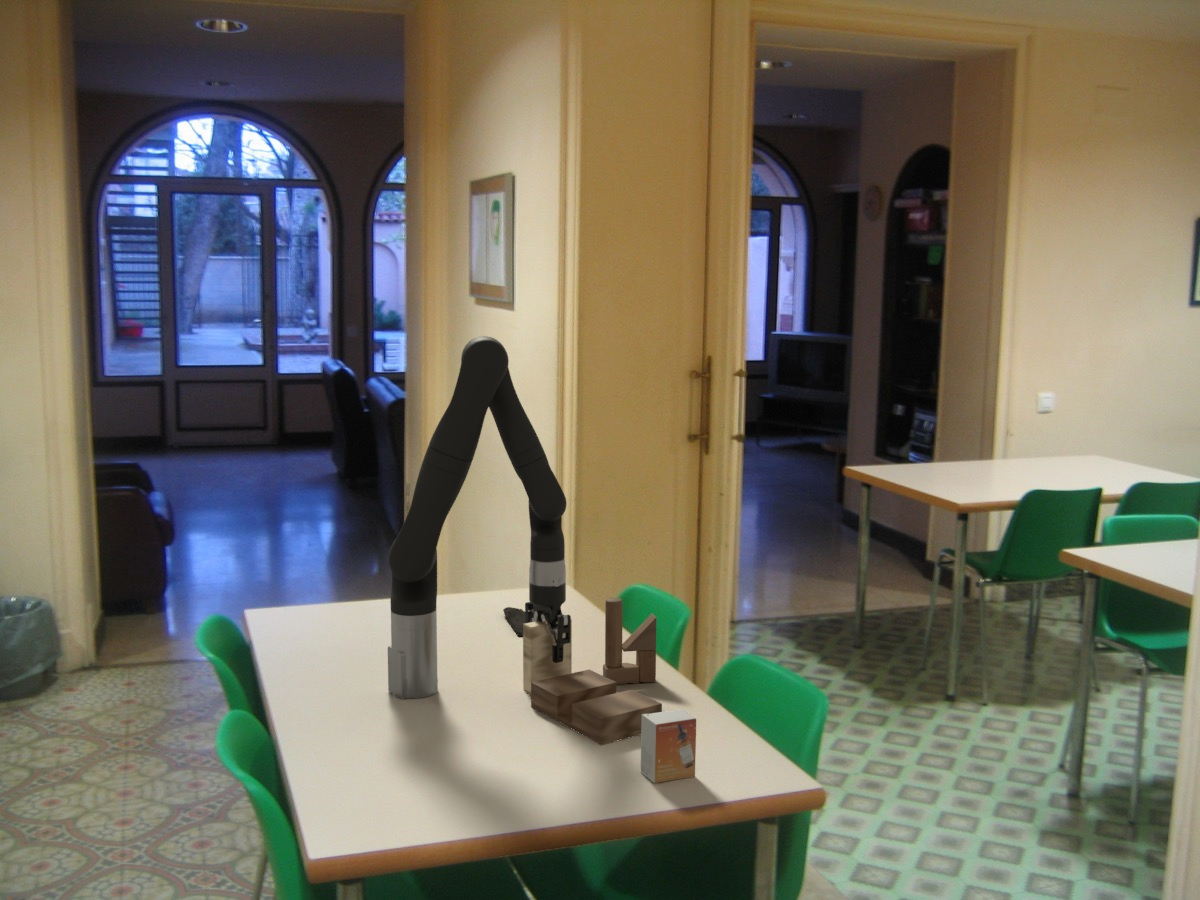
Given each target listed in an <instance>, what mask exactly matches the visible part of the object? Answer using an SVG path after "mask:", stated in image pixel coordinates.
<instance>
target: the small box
mask: <svg viewBox="0 0 1200 900" xmlns="http://www.w3.org/2000/svg"><path fill="white" fill-rule="evenodd" d="M696 738H697V718H696V717H695V716H694V715H692V714H691V713H689V712H688V711H686V709H684V708H676V709H672V710H666V711H665V710H664V711H662V712H658V713H651V714H642V718H641V735H640V773H642V774H643V775H644V776H645V777H646V778H647V779H649V780H650V781H651V782H652V783H654V784H658V783H662V782H668V781H674V780H682V779H687V778H688V779H690V778H695V776H696V751H697V749H696V748H697V746H696V744H697V739H696Z"/></svg>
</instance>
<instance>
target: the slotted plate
mask: <svg viewBox="0 0 1200 900" xmlns="http://www.w3.org/2000/svg"><path fill="white" fill-rule="evenodd" d="M617 690H618V689H617V682H615V681H613V680H611V679H609V678H606V677H604V676H603V674H599V673H598V672H595V671H594V670H592V669H585V670H581V671H575V672H572V673H571V674H566V675H562V676H557V677H553V678H548V679H544V680H539V681H535V682H531V693H530V707H531V708H533V709H534V710H537V711H538V710H539V712H540V711H541V712H540V713H542V712H543V714H544V715H546V716H547V715H548V717H549V716H550V717H549V718H550V719H552V720H555V719H556V720H557V722H558V721H559V722H558V723H560V722H561V723H560V724H562V723H563V724H562V725H563V726H565V725H566V727H567V726H568V727H567V728H568V729H571V728H572V729H571V730H573V729H574V730H575V731H574V730H573V731H574V732H576V731H577V732H576V733H578V732H579V733H578V734H580V735H582V734H583V735H584V737H585V736H586V737H585V738H587V737H588V738H587V739H589V740H591V741H593V742H594V743H596V744H598V745H599V746H603V744H604V745H607V744H611V743H615V742H618V741H617V740H619V741H621V740H620V739H622V740H626V739H629V738H628V737H630V738H633V737H632V736H634V737H636V736H635V735H637V736H639V735H638V734H641V718H642V714H651V713H658V712H663V709H662V708H663V703H662V702H660V701H657V700H655V699H653V698H651V697H649V696H647V695H644V694H642V693H640V692H638V691H636V690H635V689H627V690H623V691H618V692H617ZM556 720H555V721H556ZM583 735H582V736H583ZM625 738H626V739H625ZM614 741H615V742H614ZM610 742H611V743H610Z"/></svg>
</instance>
